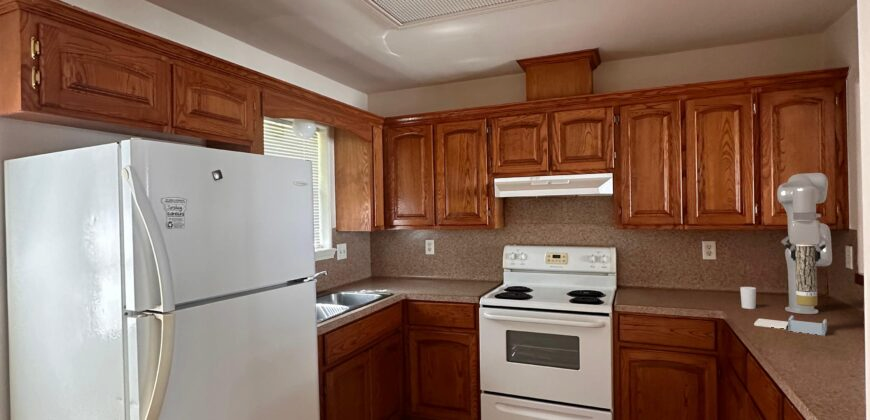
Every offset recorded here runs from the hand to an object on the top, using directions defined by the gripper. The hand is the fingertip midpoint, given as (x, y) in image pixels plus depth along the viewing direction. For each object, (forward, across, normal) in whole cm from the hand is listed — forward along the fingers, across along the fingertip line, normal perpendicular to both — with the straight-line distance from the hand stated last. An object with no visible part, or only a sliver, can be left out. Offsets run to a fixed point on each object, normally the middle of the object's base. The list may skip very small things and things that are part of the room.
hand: (805, 260), depth 196 cm
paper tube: (+18, 0, 0) cm, 18 cm away
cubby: (+29, 0, +1) cm, 29 cm away
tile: (+29, +12, -2) cm, 31 cm away
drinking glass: (+30, +26, -37) cm, 54 cm away
